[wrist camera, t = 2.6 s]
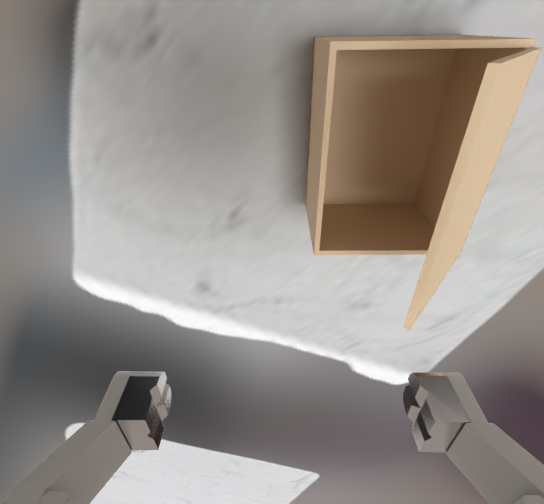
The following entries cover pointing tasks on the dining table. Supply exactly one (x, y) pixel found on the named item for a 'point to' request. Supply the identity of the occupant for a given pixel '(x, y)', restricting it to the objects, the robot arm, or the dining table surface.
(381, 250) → the carton
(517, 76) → the carton flap
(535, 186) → the dining table surface
